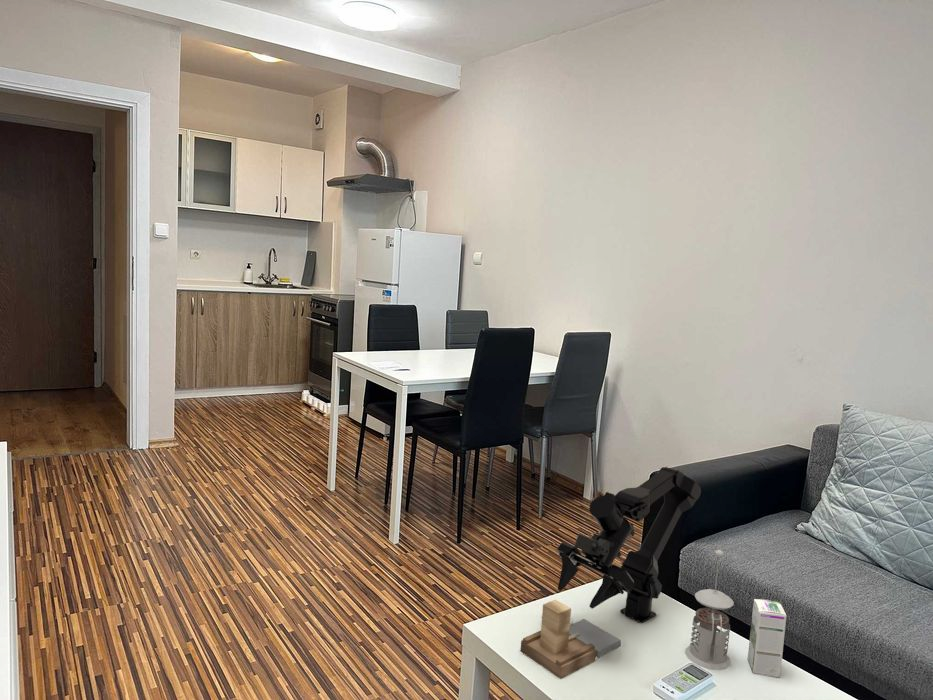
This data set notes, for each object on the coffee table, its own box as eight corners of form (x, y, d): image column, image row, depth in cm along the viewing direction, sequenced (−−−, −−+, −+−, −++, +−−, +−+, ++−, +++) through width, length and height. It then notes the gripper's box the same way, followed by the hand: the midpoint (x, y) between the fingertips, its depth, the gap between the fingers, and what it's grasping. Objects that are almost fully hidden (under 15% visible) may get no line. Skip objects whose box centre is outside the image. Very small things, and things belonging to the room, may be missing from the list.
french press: (727, 648, 154) (739, 544, 151) (736, 678, 143) (749, 566, 139) (682, 641, 156) (693, 538, 153) (688, 670, 144) (700, 559, 141)
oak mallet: (570, 631, 152) (573, 592, 151) (585, 640, 149) (589, 600, 148) (539, 645, 146) (543, 604, 145) (555, 655, 143) (558, 613, 141)
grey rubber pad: (583, 624, 161) (583, 618, 160) (620, 646, 152) (621, 639, 152) (560, 634, 155) (561, 628, 155) (597, 657, 147) (598, 651, 147)
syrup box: (780, 678, 143) (788, 614, 142) (751, 673, 145) (759, 610, 143) (774, 663, 149) (781, 601, 147) (745, 658, 150) (753, 597, 148)
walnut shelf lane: (554, 635, 155) (555, 622, 154) (595, 661, 146) (596, 646, 145) (520, 651, 148) (521, 637, 147) (560, 678, 139) (562, 663, 138)
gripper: (565, 508, 156) (528, 564, 151) (631, 535, 142) (592, 598, 136) (584, 533, 162) (549, 588, 157) (649, 562, 148) (613, 623, 142)
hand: (574, 598), depth 148 cm, fingers open, 9 cm apart
